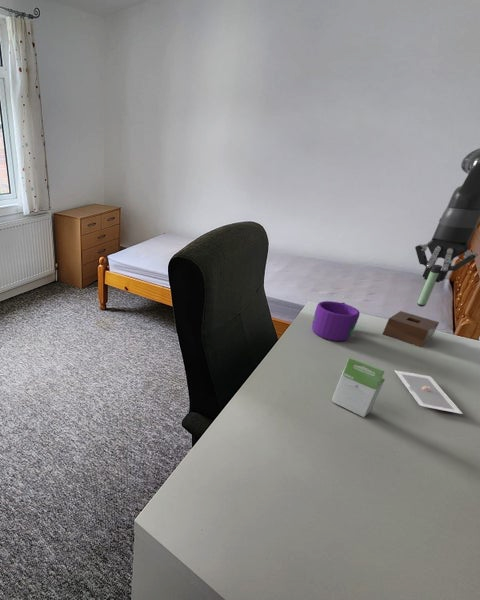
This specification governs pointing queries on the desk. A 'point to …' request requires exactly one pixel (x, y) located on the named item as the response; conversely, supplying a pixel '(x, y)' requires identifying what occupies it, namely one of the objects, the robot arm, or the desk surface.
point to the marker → (429, 285)
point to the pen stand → (410, 328)
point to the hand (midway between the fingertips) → (432, 280)
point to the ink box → (358, 387)
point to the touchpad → (427, 392)
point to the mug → (334, 320)
